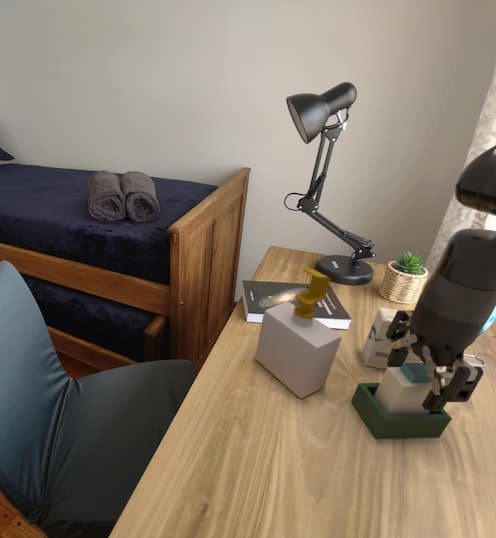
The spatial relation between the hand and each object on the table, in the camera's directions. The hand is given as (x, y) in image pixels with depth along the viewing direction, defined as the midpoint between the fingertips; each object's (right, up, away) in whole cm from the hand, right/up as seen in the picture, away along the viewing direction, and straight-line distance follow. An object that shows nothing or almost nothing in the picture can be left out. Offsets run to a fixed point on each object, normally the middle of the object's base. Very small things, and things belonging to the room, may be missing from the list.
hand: (410, 386), depth 57 cm
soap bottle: (-14, -2, +14) cm, 20 cm away
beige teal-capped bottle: (0, -6, +4) cm, 7 cm away
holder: (0, -7, +4) cm, 8 cm away
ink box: (+7, 0, +15) cm, 17 cm away
